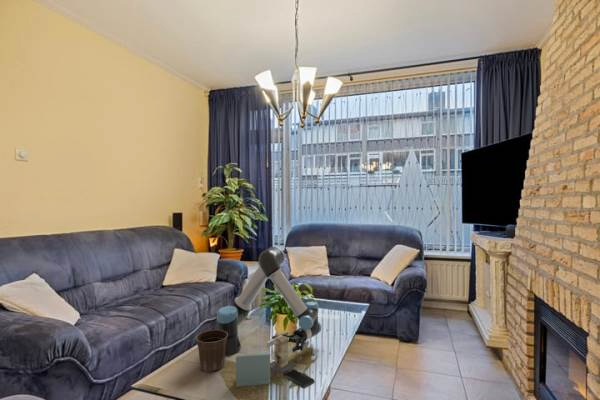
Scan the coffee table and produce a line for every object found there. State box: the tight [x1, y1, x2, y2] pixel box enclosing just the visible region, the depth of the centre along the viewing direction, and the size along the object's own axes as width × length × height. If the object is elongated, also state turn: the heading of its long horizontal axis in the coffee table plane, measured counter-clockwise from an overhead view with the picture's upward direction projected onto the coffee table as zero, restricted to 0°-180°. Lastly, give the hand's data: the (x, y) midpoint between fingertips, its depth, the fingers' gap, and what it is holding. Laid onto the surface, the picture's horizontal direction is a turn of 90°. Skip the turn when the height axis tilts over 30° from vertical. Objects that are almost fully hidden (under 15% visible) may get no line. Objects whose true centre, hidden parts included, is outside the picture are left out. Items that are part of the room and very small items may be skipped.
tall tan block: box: [274, 334, 289, 368], centre depth 178 cm, size 5×5×14 cm
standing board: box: [235, 353, 271, 387], centre depth 163 cm, size 5×16×13 cm, turn 97°
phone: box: [282, 368, 315, 389], centre depth 166 cm, size 8×1×15 cm
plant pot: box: [195, 329, 228, 373], centre depth 178 cm, size 16×16×16 cm
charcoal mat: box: [270, 360, 297, 375], centre depth 178 cm, size 11×11×1 cm
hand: (277, 348), depth 176 cm, fingers open, 13 cm apart
